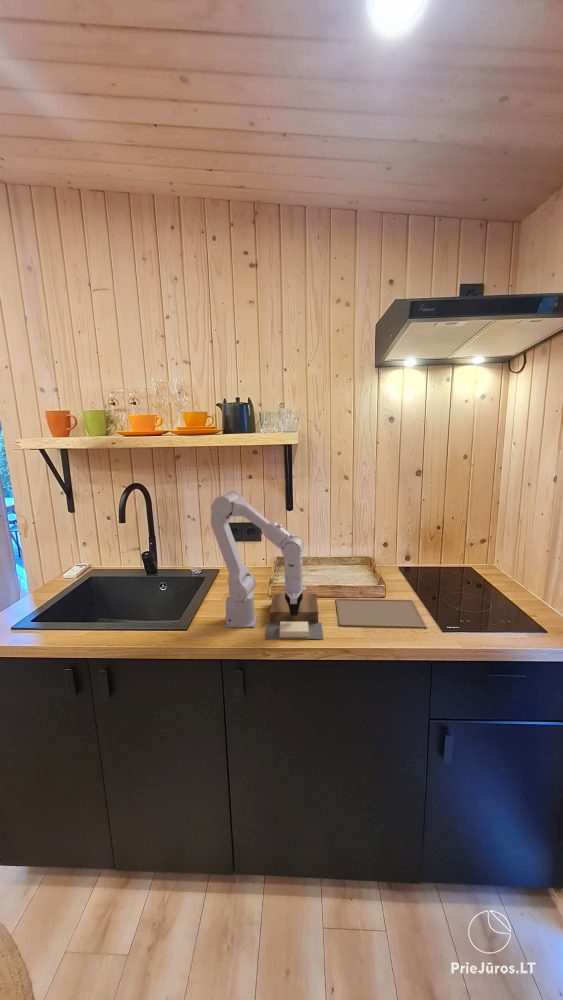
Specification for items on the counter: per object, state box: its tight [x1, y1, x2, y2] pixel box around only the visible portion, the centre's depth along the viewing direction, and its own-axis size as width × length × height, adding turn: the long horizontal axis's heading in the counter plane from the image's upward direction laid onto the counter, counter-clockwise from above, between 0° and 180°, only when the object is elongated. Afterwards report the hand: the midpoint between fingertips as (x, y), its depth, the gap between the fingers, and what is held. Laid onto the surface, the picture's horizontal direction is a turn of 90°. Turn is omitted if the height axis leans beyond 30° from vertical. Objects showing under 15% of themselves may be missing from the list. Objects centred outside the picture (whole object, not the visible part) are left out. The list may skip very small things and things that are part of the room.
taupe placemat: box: [335, 598, 428, 629], centre depth 140 cm, size 19×1×28 cm
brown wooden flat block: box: [269, 593, 319, 622], centre depth 141 cm, size 16×14×4 cm
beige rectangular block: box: [280, 622, 309, 637], centre depth 128 cm, size 9×6×2 cm, turn 88°
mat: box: [264, 621, 324, 641], centre depth 130 cm, size 18×10×1 cm, turn 88°
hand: (294, 614), depth 131 cm, fingers closed
